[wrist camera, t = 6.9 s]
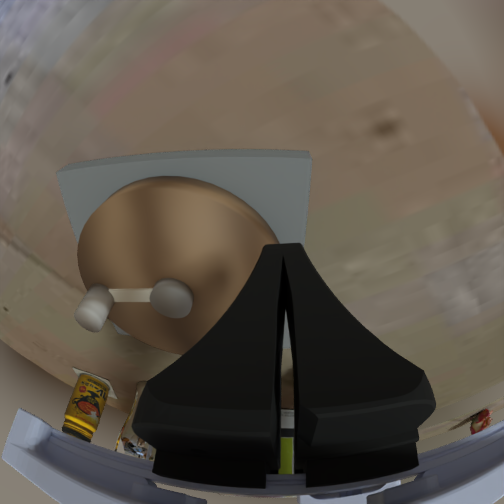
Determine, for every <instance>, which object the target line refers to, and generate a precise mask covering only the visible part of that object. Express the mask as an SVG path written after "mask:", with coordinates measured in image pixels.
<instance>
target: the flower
mask: <svg viewBox="0 0 504 504" xmlns="http://www.w3.org/2000/svg"><path fill="white" fill-rule="evenodd" d="M492 412H493V410H492V411H490V413H489V411H488V409H485V411H484V410H483V411H482V412H481V413H479V415H477V416H476V417H475V419H474V418H472V417H470V420H471V421H472V423H471V427H470V430H471V435H473V434H475V433H477V432H480V431H482V430H484V429H486V428H488V426H489V424H490V423H491V420H492V419H491V420H490V417H489V416H490V414H492Z"/></svg>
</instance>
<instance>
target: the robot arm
mask: <svg viewBox="0 0 504 504" xmlns="http://www.w3.org/2000/svg"><path fill="white" fill-rule="evenodd" d="M285 313H286V315H287V322H288V330H289V337H290V345H291V352H292V360H293V377H294V451H293V457H292V474H279V469H280V468H281V362H282V350H283V339H284V326H285ZM435 408H436V401H435V398H434V394H433V391H432V388H431V385H430V383H429V381H428V379H427V377H426V374H425V372H424V370H422V369H420V368H419V367H417V366H416V365H414V364H413V363H411V362H409V361H408V360H406V359H405V358H403V357H402V356H400V355H399V354H397V353H396V352H394V351H393V350H392V349H390V348H389V347H388V346H386V345H385V344H384V343H383V342H381V341H380V340H379V339H378V338H377V337H376V336H375V335H373V334H372V333H371V332H370V331H369V330H368V329H366V328H365V327H364V326H363V325H362V324H361V323H360V322H359V321H358V320H357V319H356V318H355V317H354V316H353V315H352V314H351V313H350V312H349V311H348V310H347V309H346V308H345V307H344V306H343V304H342V303H341V302H340V301H339V300H338V299H337V297H336V296H335V295H334V294H333V292H332V291H331V290H330V289H329V287H328V286H327V285H326V283H325V282H324V281H323V279H322V278H321V276H320V275H319V273H318V272H317V271H316V269H315V267H314V266H313V264H312V263H311V261H310V259H309V258H308V256H307V254H306V252H305V250H304V248H303V245H302V244H301V243H282V244H266V245H265V246H264V247H263V248H262V251H261V254H260V256H259V259H258V261H257V263H256V265H255V267H254V269H253V271H252V273H251V274H250V276H249V278H248V280H247V282H246V283H245V285H244V286H243V288H242V289H241V291H240V292H239V294H238V295H237V297H236V299H235V300H234V301H233V303H232V304H231V305H230V307H229V308H228V309H227V311H226V312H225V313H224V314H223V315H222V317H221V318H220V319H219V320H218V321H217V322H216V324H215V325H214V326H213V327H212V328H211V329H210V330H209V331H208V332H207V333H206V334H205V335H204V336H203V337H202V338H201V339H200V340H199V341H198V342H197V343H196V344H195V345H194V346H193V347H191V348H190V349H189V350H188V351H187V352H186V353H185V354H184V355H182V356H181V357H180V358H179V359H178V360H176V361H175V362H174V363H173V364H171V365H170V366H168V367H167V368H166V369H164V370H163V371H162V372H160V373H159V374H157V375H156V376H155V377H153V378H152V379H150V380H149V381H147V382H146V385H145V387H144V389H143V391H142V393H141V396H140V398H139V401H138V404H137V408H136V411H135V415H134V418H133V422H132V425H131V427H132V430H133V432H134V433H135V434H136V435H137V436H138V437H139V438H141V439H142V440H144V441H145V442H146V443H148V444H149V445H151V446H152V447H154V448H155V449H156V454H155V459H154V461H150V460H145V459H141V458H137V457H133V456H130V455H126V454H123V453H119V452H116V451H112V450H109V449H106V448H103V447H100V446H97V445H94V444H91V443H89V442H86V441H83V440H81V439H78V438H76V437H73V436H71V435H68V434H66V433H63V432H61V431H59V430H56V429H54V428H52V427H51V426H50V425H49V424H48V423H46V422H45V421H44V420H42V419H40V418H39V417H37V416H35V415H33V414H31V413H29V412H27V411H26V410H24V409H22V408H19V409H18V412H17V414H16V417H15V419H14V422H13V424H12V427H11V430H10V433H9V435H8V438H7V441H6V444H5V447H4V450H3V454H2V459H3V460H4V461H5V462H7V463H8V464H9V465H10V466H12V467H13V468H14V469H16V470H17V471H18V472H20V473H21V474H22V475H23V476H25V477H26V478H27V479H29V480H30V481H31V482H32V483H33V484H35V485H36V486H37V487H39V488H40V489H41V490H42V491H44V492H45V493H46V494H48V495H49V496H50V497H52V498H53V499H54V500H56V501H57V502H59V503H60V504H207V501H206V500H205V499H201V498H196V497H192V496H188V495H186V494H183V493H178V492H174V491H170V490H165V489H161V488H158V487H157V486H156V484H155V483H154V482H157V483H161V484H166V485H170V486H176V487H180V488H186V489H192V490H199V491H206V492H213V493H222V494H233V495H248V496H297V502H298V503H299V504H493V503H495V502H496V501H497V500H499V499H500V498H502V497H503V496H504V420H502V421H500V422H499V423H497V424H495V425H492V426H490V427H488V428H486V429H484V430H482V431H480V432H477V433H475V434H473V435H471V436H468V437H466V438H463V439H461V440H458V441H455V442H453V443H450V444H448V445H445V446H442V447H439V448H436V449H433V450H430V451H427V452H423V453H420V454H417V448H416V442H417V441H418V440H419V434H418V429H417V428H418V427H419V426H420V425H421V424H422V423H423V422H424V421H425V420H426V419H427V418H428V417H430V415H431V414H432V413H433V412H434V410H435ZM416 475H417V477H416V478H415V479H414V481H411V482H408V483H405V484H402V485H401V483H400V480H402V479H406V478H409V477H412V476H416ZM152 481H153V482H152Z"/></svg>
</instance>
